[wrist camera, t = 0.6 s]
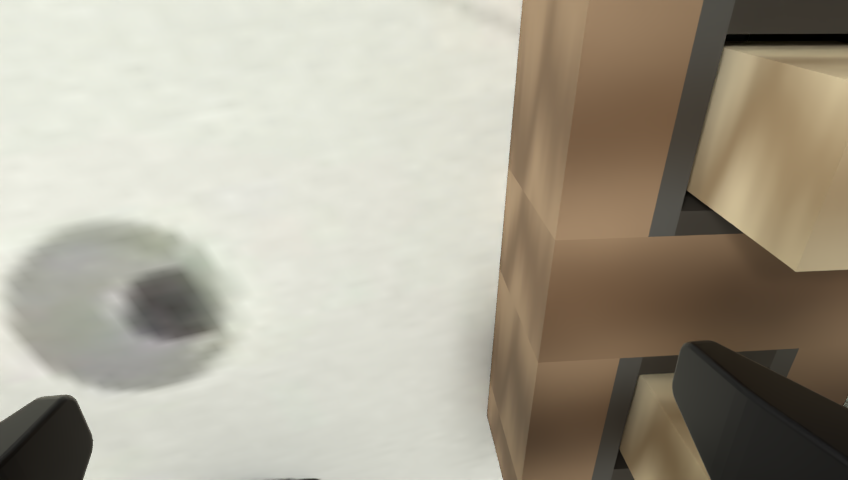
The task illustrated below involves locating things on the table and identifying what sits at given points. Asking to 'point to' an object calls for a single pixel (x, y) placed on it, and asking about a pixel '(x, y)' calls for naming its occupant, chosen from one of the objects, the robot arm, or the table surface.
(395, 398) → the table surface
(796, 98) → the peg
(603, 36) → the band block
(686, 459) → the peg
